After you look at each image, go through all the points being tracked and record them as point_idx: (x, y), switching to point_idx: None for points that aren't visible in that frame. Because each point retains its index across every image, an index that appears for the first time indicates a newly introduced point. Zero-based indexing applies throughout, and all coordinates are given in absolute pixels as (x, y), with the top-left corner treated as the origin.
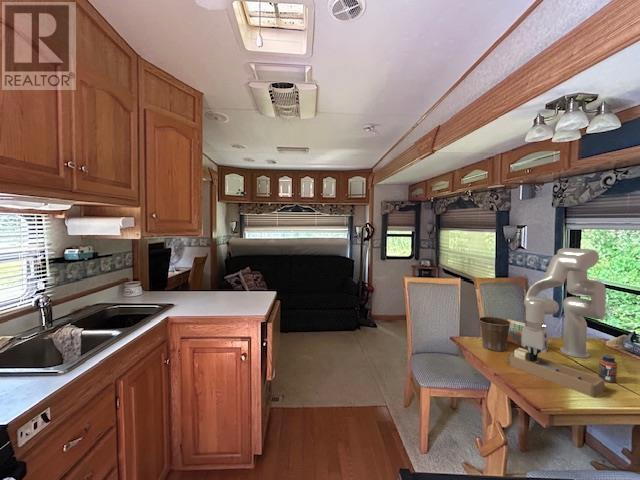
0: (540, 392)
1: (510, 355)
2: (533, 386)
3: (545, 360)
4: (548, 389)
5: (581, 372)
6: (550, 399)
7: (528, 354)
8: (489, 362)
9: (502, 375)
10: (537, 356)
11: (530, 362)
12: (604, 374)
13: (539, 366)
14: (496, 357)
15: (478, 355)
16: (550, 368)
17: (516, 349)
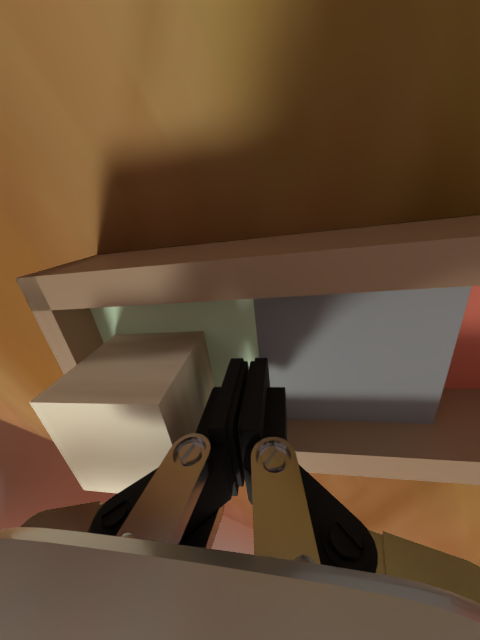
0: (415, 533)
1: None
2: (369, 509)
3: (339, 292)
4: (438, 493)
5: None
6: (471, 554)
7: (183, 411)
8: None
9: (228, 507)
10: (284, 416)
11: None
12: None
13: (362, 475)
14: (44, 361)
15: (14, 415)
16: (407, 333)
17: (75, 468)
